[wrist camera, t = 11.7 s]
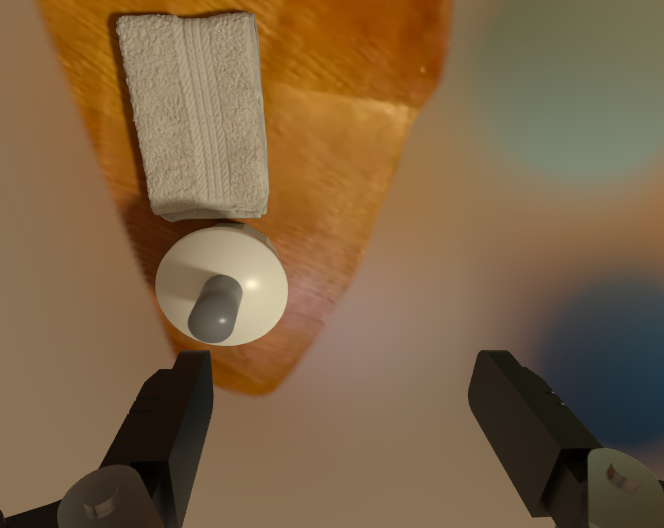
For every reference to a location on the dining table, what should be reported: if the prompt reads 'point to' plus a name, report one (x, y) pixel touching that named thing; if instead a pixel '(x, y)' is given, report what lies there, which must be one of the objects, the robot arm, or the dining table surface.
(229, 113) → the washcloth
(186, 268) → the lid
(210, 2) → the dining table surface
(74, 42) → the dining table surface
